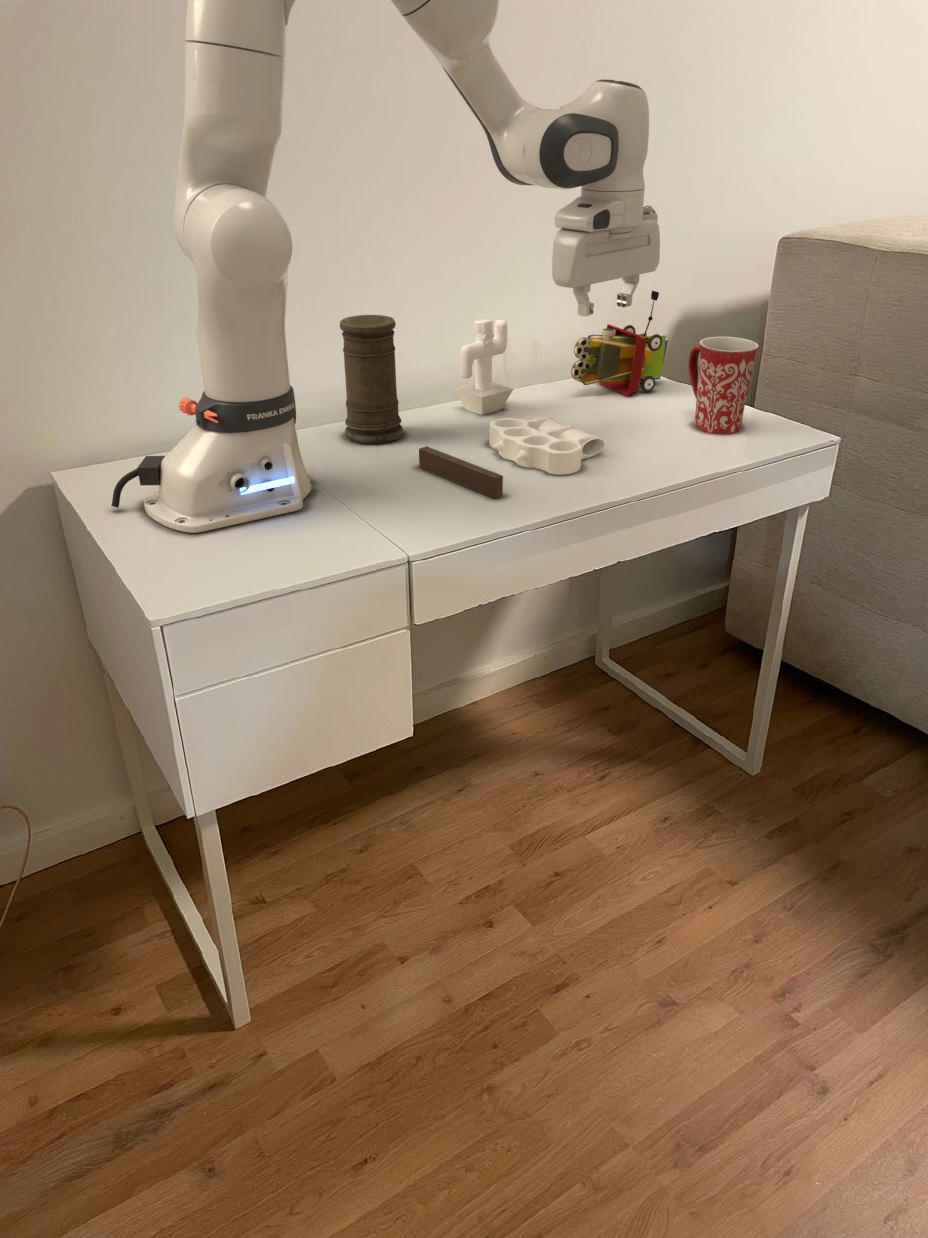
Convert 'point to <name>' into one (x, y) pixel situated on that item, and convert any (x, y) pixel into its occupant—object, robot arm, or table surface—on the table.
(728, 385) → the mug
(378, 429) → the container
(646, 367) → the robot toy
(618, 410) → the table surface
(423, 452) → the bar
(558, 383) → the table surface
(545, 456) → the cream flat holed block
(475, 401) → the figurine
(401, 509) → the table surface
